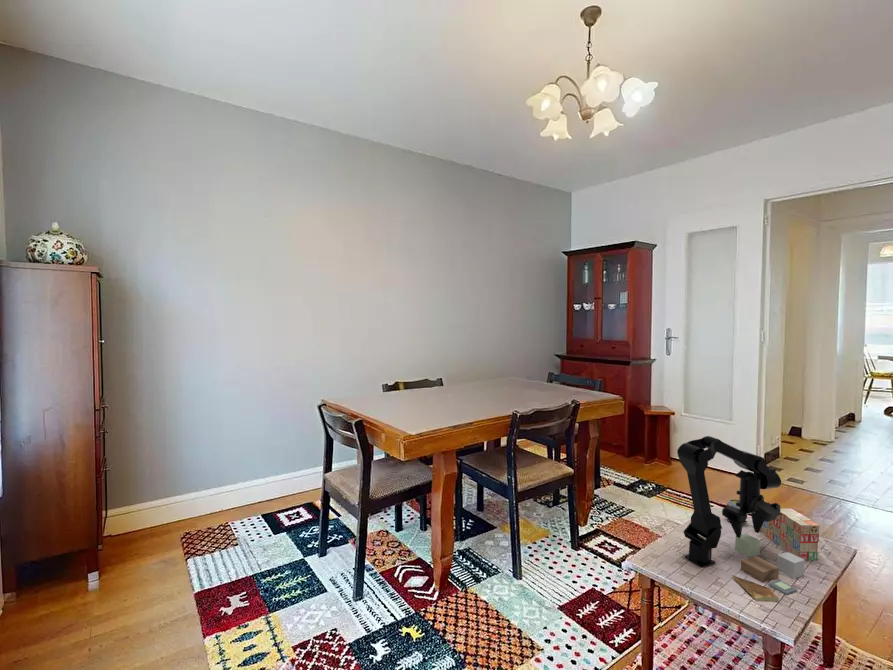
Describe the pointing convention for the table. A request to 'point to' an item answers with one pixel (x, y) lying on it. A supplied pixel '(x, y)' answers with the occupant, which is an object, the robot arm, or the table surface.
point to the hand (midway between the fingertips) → (747, 534)
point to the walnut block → (759, 569)
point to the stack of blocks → (794, 533)
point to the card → (782, 587)
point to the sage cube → (747, 545)
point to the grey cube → (790, 564)
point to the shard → (757, 590)
